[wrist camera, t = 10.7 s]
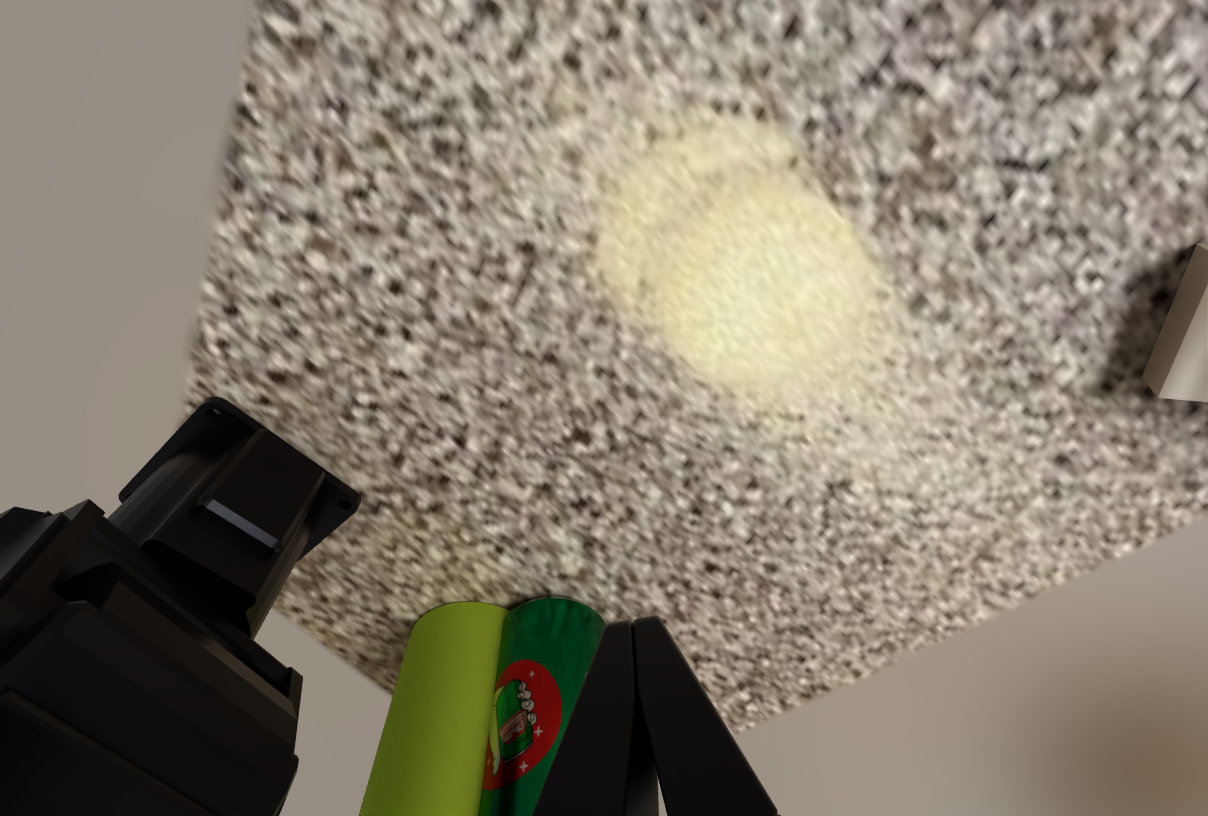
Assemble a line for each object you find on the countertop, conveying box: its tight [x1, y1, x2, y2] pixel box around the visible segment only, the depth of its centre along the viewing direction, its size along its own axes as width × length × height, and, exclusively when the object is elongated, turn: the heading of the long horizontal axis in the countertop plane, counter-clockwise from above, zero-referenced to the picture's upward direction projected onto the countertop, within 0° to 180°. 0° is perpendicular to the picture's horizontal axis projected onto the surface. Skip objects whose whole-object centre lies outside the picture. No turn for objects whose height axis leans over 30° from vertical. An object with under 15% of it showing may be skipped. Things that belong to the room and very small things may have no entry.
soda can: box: [478, 595, 606, 816], centre depth 23 cm, size 5×5×12 cm
